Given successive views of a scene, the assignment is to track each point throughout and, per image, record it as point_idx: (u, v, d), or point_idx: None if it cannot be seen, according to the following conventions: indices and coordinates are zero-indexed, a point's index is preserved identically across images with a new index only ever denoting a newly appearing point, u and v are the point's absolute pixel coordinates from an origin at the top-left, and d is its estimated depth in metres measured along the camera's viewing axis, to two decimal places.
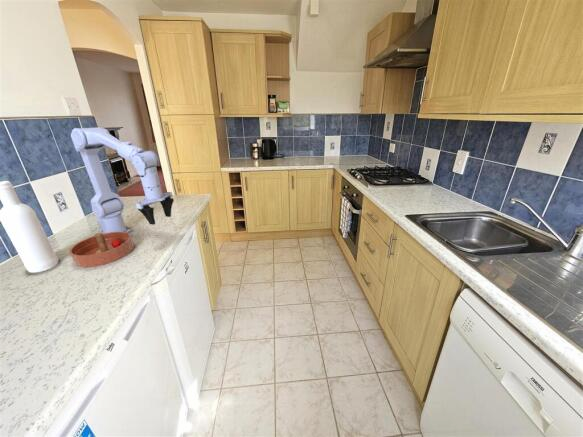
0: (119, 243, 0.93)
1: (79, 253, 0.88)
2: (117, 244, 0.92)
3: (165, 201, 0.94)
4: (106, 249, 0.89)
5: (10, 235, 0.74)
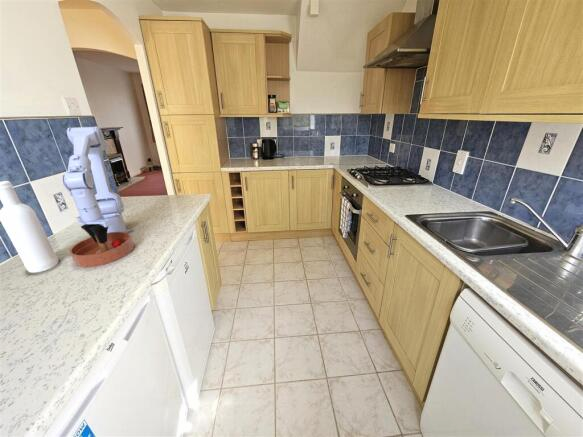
0: (119, 243, 0.93)
1: (79, 253, 0.88)
2: (117, 244, 0.92)
3: None
4: (106, 249, 0.89)
5: (10, 235, 0.74)
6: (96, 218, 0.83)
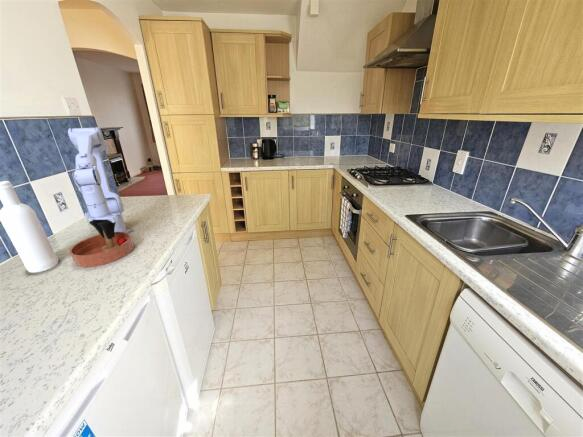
0: (124, 242, 0.95)
1: (79, 253, 0.88)
2: (123, 240, 0.95)
3: None
4: (112, 245, 0.91)
5: (10, 235, 0.74)
6: (104, 214, 0.85)
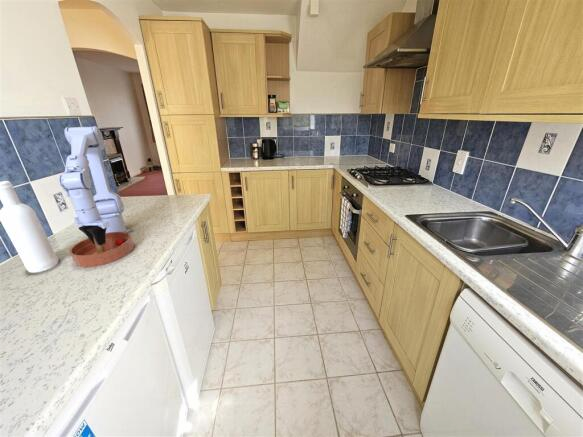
0: (123, 242, 0.95)
1: (79, 253, 0.88)
2: (121, 241, 0.94)
3: None
4: (103, 251, 0.87)
5: (10, 235, 0.74)
6: (94, 219, 0.81)
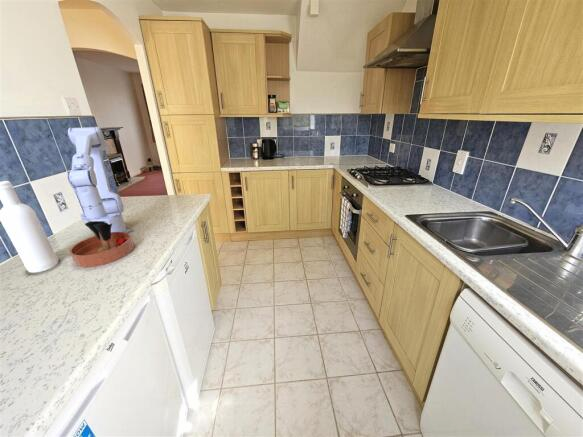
0: (123, 241, 0.95)
1: (79, 253, 0.88)
2: (122, 239, 0.95)
3: None
4: (108, 247, 0.90)
5: (10, 235, 0.74)
6: (100, 215, 0.84)
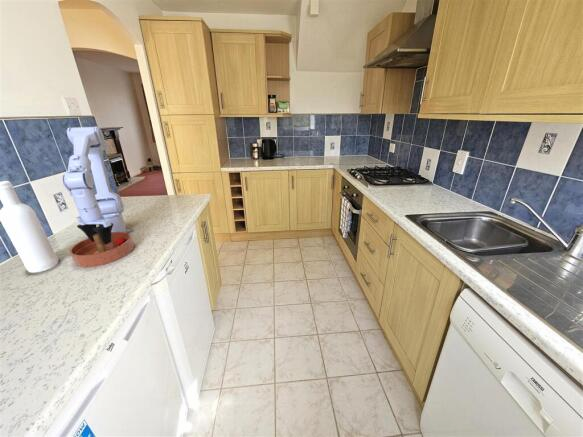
0: (123, 241, 0.95)
1: (79, 253, 0.88)
2: (122, 239, 0.95)
3: None
4: (104, 250, 0.89)
5: (10, 235, 0.74)
6: (96, 218, 0.83)
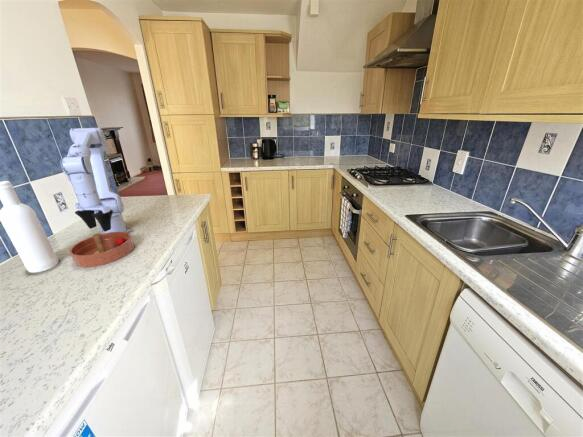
0: (123, 241, 0.95)
1: (79, 253, 0.88)
2: (121, 239, 0.95)
3: None
4: (104, 250, 0.89)
5: (10, 235, 0.74)
6: (95, 204, 0.82)
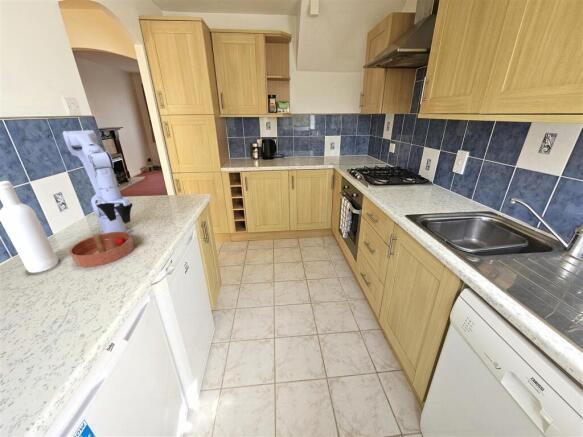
0: (123, 241, 0.95)
1: (79, 253, 0.88)
2: (121, 239, 0.95)
3: None
4: (104, 250, 0.89)
5: (10, 235, 0.74)
6: (116, 197, 0.88)
